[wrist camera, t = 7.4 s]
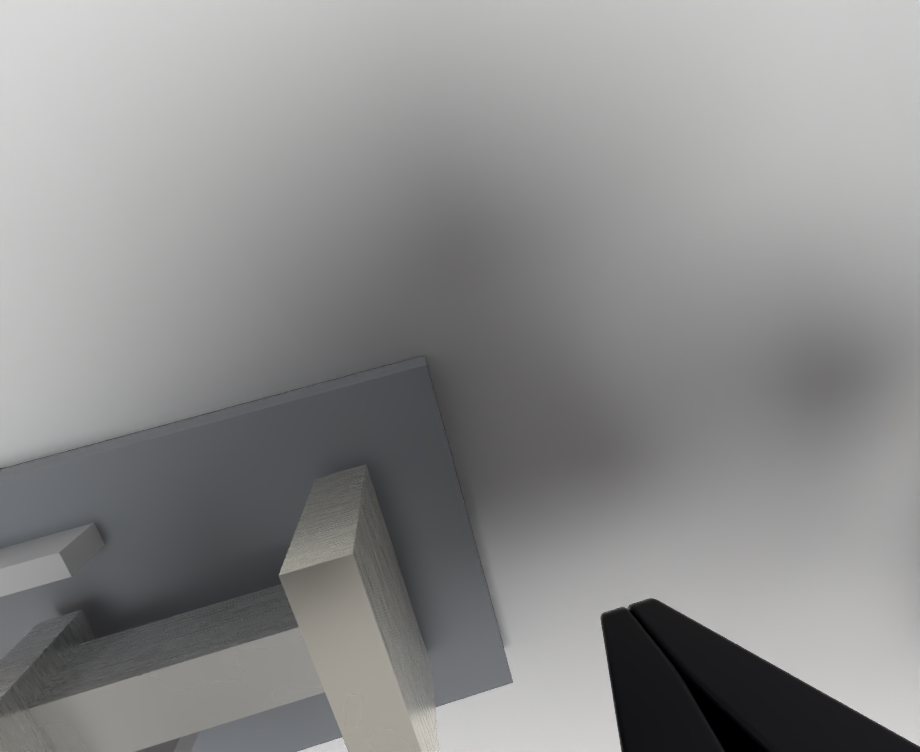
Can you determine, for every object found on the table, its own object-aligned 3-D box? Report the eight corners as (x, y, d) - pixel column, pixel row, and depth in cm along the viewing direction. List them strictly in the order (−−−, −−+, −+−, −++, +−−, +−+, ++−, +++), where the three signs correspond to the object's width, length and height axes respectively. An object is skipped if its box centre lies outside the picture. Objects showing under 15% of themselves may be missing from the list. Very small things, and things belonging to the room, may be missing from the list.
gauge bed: (423, 355, 10) (447, 433, 6) (503, 649, 12) (572, 895, 8) (-373, 569, 9) (-1198, 895, 4) (-145, 853, 11) (-550, 1292, 6)
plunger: (366, 463, 9) (352, 553, 6) (431, 667, 11) (444, 820, 8) (6, 565, 9) (-184, 711, 6) (119, 765, 10) (6, 966, 7)
